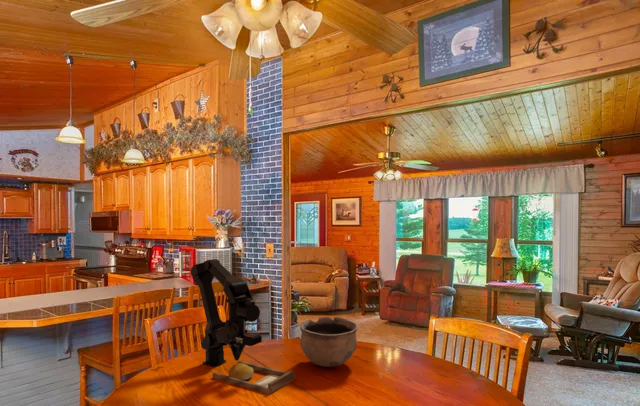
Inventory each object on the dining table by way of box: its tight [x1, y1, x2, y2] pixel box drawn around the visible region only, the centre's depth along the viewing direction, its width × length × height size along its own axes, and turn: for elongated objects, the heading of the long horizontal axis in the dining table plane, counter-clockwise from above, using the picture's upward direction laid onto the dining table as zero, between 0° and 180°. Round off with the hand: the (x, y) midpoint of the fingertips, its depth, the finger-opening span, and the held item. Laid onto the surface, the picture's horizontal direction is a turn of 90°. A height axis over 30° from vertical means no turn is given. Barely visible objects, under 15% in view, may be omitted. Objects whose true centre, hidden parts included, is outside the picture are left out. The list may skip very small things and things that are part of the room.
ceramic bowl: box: [299, 316, 359, 368], centre depth 160 cm, size 22×22×15 cm
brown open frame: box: [211, 360, 296, 395], centre depth 146 cm, size 25×14×3 cm, turn 59°
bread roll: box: [227, 363, 255, 381], centre depth 147 cm, size 8×9×4 cm
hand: (236, 360), depth 150 cm, fingers closed
